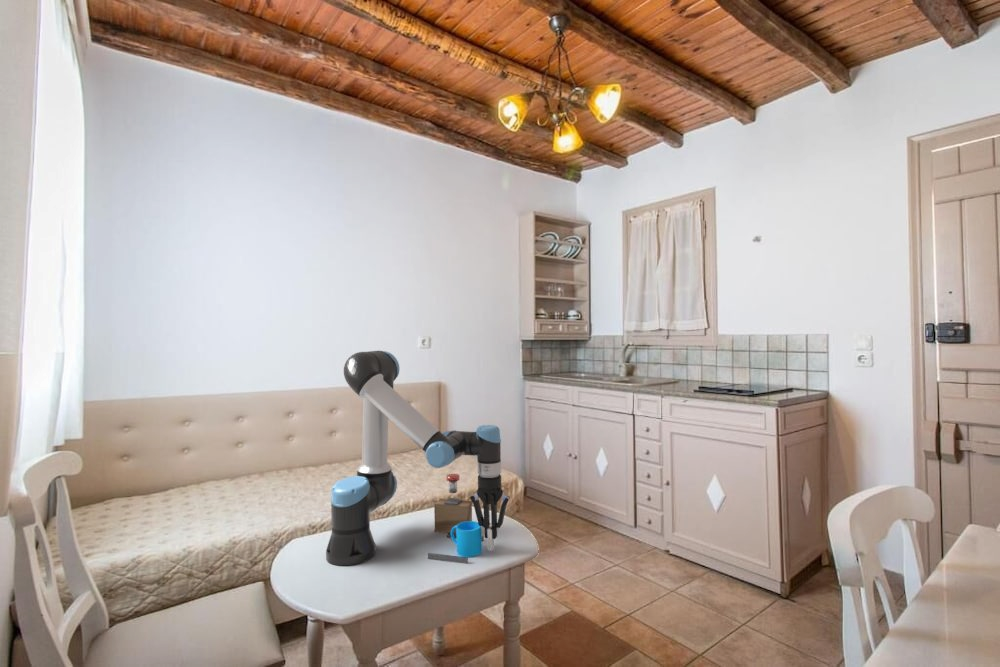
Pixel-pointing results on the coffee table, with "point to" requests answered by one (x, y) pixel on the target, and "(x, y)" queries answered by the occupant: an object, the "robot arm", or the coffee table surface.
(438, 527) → the end cabinet
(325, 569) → the coffee table surface
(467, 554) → the mug
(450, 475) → the red rounded piece
